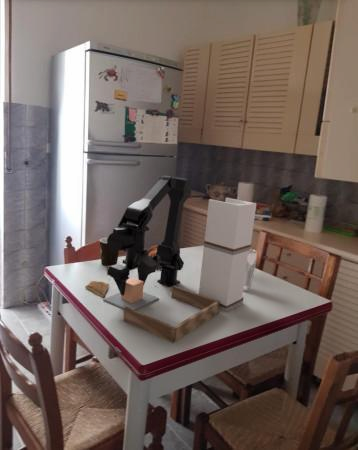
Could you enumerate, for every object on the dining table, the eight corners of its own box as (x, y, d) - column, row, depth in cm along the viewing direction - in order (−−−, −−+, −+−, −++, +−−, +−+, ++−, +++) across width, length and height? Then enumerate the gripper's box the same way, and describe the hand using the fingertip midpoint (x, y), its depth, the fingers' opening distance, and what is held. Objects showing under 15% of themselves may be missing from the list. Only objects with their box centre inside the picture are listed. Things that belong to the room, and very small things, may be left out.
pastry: (186, 267, 163) (188, 249, 162) (156, 270, 155) (157, 252, 153) (166, 255, 177) (168, 239, 175) (137, 258, 168) (138, 241, 167)
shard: (103, 299, 124) (104, 294, 124) (80, 297, 124) (80, 292, 123) (109, 286, 135) (109, 282, 134) (88, 285, 134) (88, 280, 134)
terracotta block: (131, 294, 128) (132, 277, 126) (142, 298, 125) (143, 281, 124) (120, 298, 124) (121, 281, 122) (132, 302, 121) (133, 285, 120)
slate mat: (132, 289, 133) (132, 287, 133) (158, 299, 127) (158, 297, 127) (103, 300, 122) (103, 298, 122) (130, 312, 115) (131, 310, 115)
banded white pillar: (242, 303, 130) (256, 203, 122) (225, 311, 122) (239, 205, 114) (215, 292, 137) (227, 197, 130) (198, 300, 129) (209, 199, 121)
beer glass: (255, 289, 144) (261, 251, 141) (245, 293, 139) (251, 254, 136) (240, 283, 149) (245, 246, 146) (230, 287, 144) (235, 249, 141)
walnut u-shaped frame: (173, 296, 130) (174, 285, 129) (218, 313, 120) (220, 301, 119) (123, 320, 110) (124, 307, 109) (173, 343, 100) (174, 329, 99)
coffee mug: (102, 259, 162) (103, 237, 160) (122, 262, 161) (123, 239, 159) (92, 267, 151) (94, 243, 149) (113, 270, 150) (115, 246, 148)
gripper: (134, 257, 108) (131, 307, 112) (172, 246, 123) (168, 290, 127) (107, 248, 114) (104, 296, 118) (146, 238, 130) (143, 281, 133)
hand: (132, 291), depth 124 cm, fingers open, 9 cm apart
